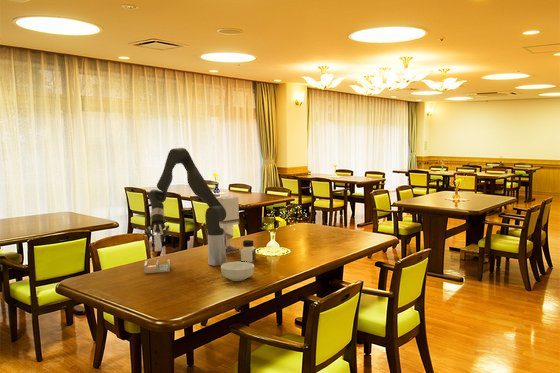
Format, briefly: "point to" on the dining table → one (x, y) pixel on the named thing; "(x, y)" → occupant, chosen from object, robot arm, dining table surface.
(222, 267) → the cereal bowl
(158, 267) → the slot rack
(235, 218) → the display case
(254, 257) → the medicine bottle
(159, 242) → the panel
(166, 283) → the dining table surface
